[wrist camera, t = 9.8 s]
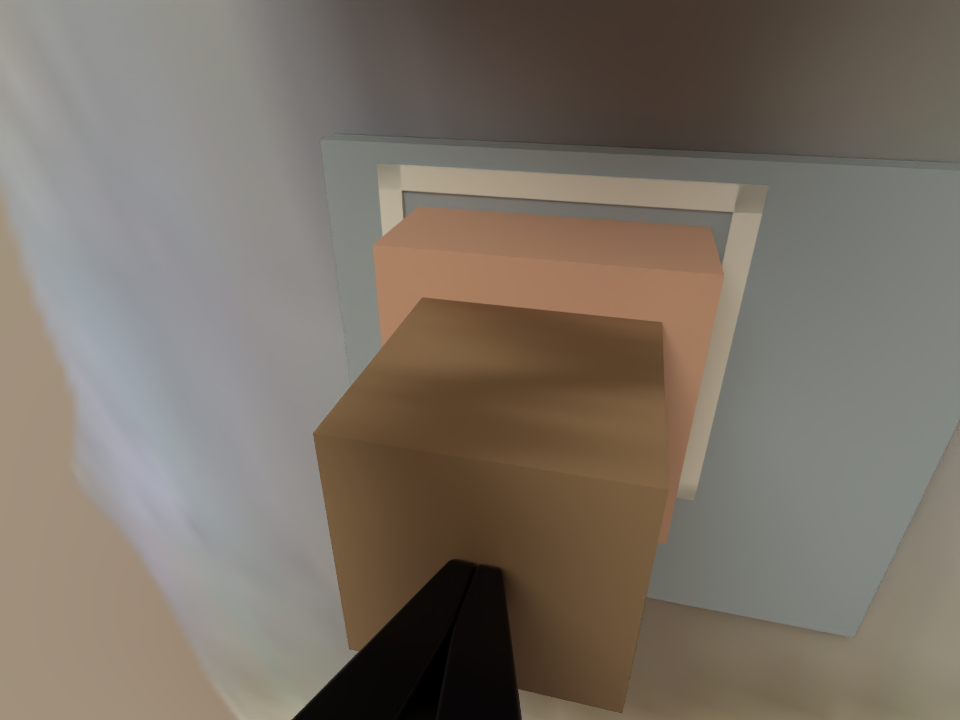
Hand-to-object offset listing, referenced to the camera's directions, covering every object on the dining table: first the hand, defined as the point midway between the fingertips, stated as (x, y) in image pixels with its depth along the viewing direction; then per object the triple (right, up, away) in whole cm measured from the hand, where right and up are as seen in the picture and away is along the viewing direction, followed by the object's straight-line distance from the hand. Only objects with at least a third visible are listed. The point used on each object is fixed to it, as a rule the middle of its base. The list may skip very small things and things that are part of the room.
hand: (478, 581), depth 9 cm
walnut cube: (+1, +2, +4) cm, 5 cm away
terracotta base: (+2, +4, +7) cm, 8 cm away
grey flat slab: (+4, +2, +8) cm, 9 cm away
